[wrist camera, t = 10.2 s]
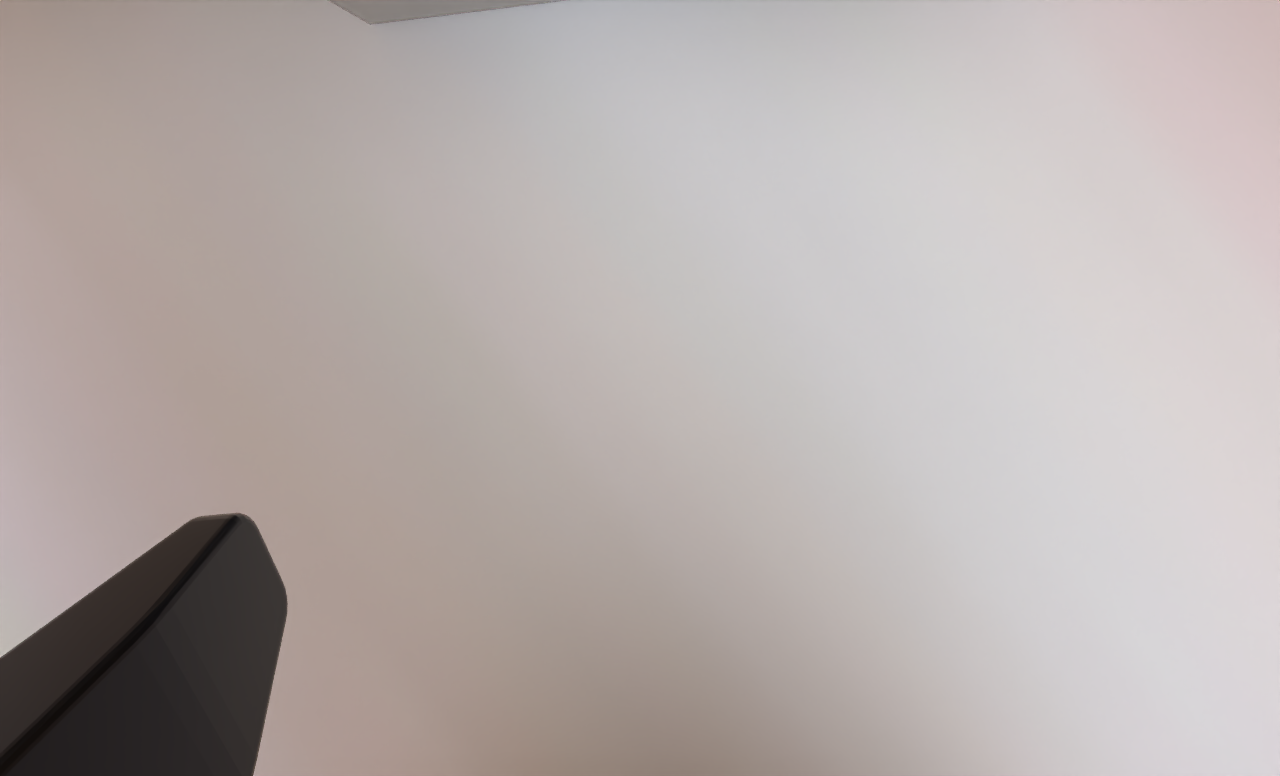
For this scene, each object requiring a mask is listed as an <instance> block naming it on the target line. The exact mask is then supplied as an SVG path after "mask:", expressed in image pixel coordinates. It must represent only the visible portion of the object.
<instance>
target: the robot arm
mask: <svg viewBox="0 0 1280 776" xmlns="http://www.w3.org/2000/svg"><path fill="white" fill-rule="evenodd" d="M286 616H287V595H286V590H285V587H284V584H283V581H282V579H281V577H280V575H279V573H278V570H277V568H276V566H275V564H274V562H273V560H272V557H271V555H270V553H269V551H268V549H267V547H266V545H265V542H264V540H263V538H262V536H261V534H260V532H259V530H258V528H257V526H256V524H255V523H254V521H253V520H252V519H251V518H250V517H248V516H247V515H244V514H241V513H232V514H220V515H209V516H201V517H197V518H194V519H192V520H190V521H189V522H187V523H186V524H184V525H183V526H182V527H180V528H179V529H178V530H176V531H175V532H173V533H172V534H171V535H169V536H168V537H166V538H165V539H164V540H162V541H161V542H160V543H158V544H157V545H155V546H154V547H153V548H151V549H150V550H149V551H147V552H146V553H144V554H143V555H142V556H140V557H139V558H137V559H136V560H135V561H133V562H132V563H131V564H129V565H128V566H126V567H125V568H124V569H122V570H121V571H120V572H118V573H117V574H115V575H114V576H113V577H111V578H110V579H108V580H107V581H106V582H104V583H103V584H102V585H100V586H99V587H97V588H96V589H95V590H93V591H92V592H91V593H89V594H88V595H86V596H85V597H84V598H82V599H81V600H79V601H78V602H77V603H75V604H74V605H73V606H71V607H70V608H68V609H67V610H66V611H64V612H63V613H62V614H60V615H59V616H57V617H56V618H55V619H53V620H52V621H50V622H49V623H48V624H46V625H45V626H44V627H42V628H41V629H39V630H38V631H37V632H35V633H34V634H33V635H31V636H30V637H28V638H27V639H26V640H24V641H23V642H21V643H20V644H19V645H17V646H16V647H15V648H13V649H12V650H10V651H9V652H8V653H6V654H5V655H4V656H2V657H1V658H0V776H253V773H254V769H255V765H256V761H257V756H258V751H259V747H260V742H261V737H262V732H263V727H264V723H265V718H266V713H267V708H268V703H269V699H270V694H271V689H272V684H273V679H274V675H275V670H276V665H277V660H278V655H279V651H280V646H281V641H282V636H283V631H284V627H285V622H286Z"/></svg>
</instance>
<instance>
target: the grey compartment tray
mask: <svg viewBox="0 0 1280 776" xmlns="http://www.w3.org/2000/svg"><path fill="white" fill-rule="evenodd" d="M328 1H330V2H332V3H333V4H335V5H337V6H339V7H341V8H342V9H344V10H346V11H348V12H349V13H351V14H353V15H355V16H356V17H358V18H360V19H362V20H363V21H365V22H367V23H369V24H378V23H386V22H394V21H402V20H410V19H418V18H426V17H435V16H443V15H451V14H459V13H467V12H475V11H483V10H492V9H500V8H508V7H516V6H524V5H532V4H540V3H548V2H557V1H565V0H328Z"/></svg>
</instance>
